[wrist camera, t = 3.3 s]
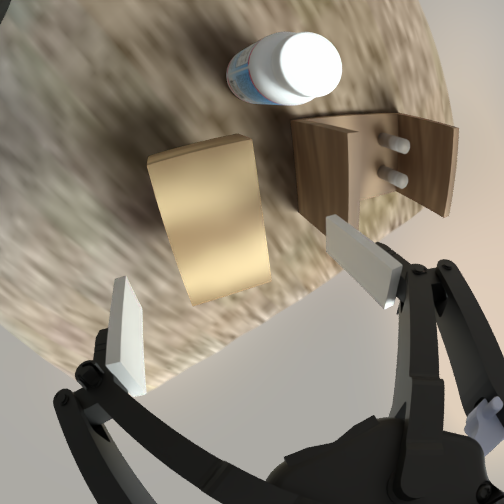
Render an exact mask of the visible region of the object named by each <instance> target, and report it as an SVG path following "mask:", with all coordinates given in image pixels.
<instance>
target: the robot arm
mask: <svg viewBox="0 0 504 504" xmlns="http://www.w3.org/2000/svg"><path fill="white" fill-rule="evenodd" d="M10 1H11V0H0V23H1V21H2V20H3V18H4V15H5V13H6V11H7V9H8V6H9V4H10ZM326 252H327V253H328V254H329V255H330V256H331V257H332V258H333V259H334V260H335V261H336V262H337V263H338V264H339V265H340V266H341V267H342V268H343V269H344V270H345V271H347V272H348V273H349V274H350V275H351V276H352V277H353V278H354V279H355V280H356V281H357V282H358V283H359V284H360V285H361V286H362V287H363V288H364V289H365V290H366V291H367V292H368V293H369V295H371V296H372V297H373V299H375V301H376V302H377V303H378V304H379V305H380V306H381V307H382V308H383V309H386V308H388V307H390V306H392V305H394V303H395V298H396V297H398V298H399V299H400V303H399V307H398V310H397V314H399V335H398V355H397V368H396V379H395V388H394V397H393V405H392V408H391V411H390V414H389V417H386V418H379V419H376V417H375V416H374V415H373V416H371V417H369V418H367V419H366V420H364V421H362V422H360V423H358V424H356V425H355V426H353V427H352V428H351V429H350V430H348V431H347V432H346V433H345V434H344V435H343V436H341V437H340V438H339V439H338V440H336V441H335V442H333V443H329V444H324V445H319V446H314V447H309V448H305V449H303V450H301V451H298V452H295V453H293V454H290V455H288V456H285V457H284V460H285V461H284V462H283V463H281V464H280V465H279V466H277V467H276V468H275V469H274V470H273V471H272V472H271V473H270V475H269V476H268V478H267V479H266V481H264V480H262V479H259V478H257V477H255V476H253V475H251V474H249V473H247V472H245V471H243V470H241V469H240V468H237V467H236V466H234V465H232V464H230V463H228V462H226V461H222V460H221V459H219V458H217V457H215V456H214V455H212V454H210V453H208V452H207V451H205V450H204V449H202V448H201V447H199V446H197V445H196V444H194V443H193V442H191V441H190V440H188V439H187V438H185V437H184V436H182V435H181V434H179V433H178V432H176V431H175V430H174V429H172V428H171V427H169V426H168V425H167V424H165V423H164V422H163V421H161V420H160V419H159V418H157V417H156V416H155V415H153V414H152V413H151V412H149V411H148V410H147V409H146V408H144V407H143V406H142V405H141V404H140V403H138V402H137V401H136V400H135V399H133V398H132V397H131V396H130V395H129V394H128V392H129V393H130V394H131V395H132V396H133V397H136V396H140V395H145V394H147V393H146V381H145V368H144V351H143V321H142V307H141V305H140V303H139V301H138V299H137V297H136V295H135V293H134V291H133V289H132V287H131V285H130V283H129V281H128V279H127V276H123V277H120V278H116V279H115V282H114V288H113V295H112V302H111V310H110V318H109V327H108V328H106V329H102V330H100V331H99V333H98V335H97V337H96V341H95V349H94V352H95V353H94V358H93V360H88V361H85V362H83V363H81V364H80V365H79V366H78V368H77V369H76V372H75V378H76V380H77V382H78V383H79V384H80V385H81V386H82V387H83V388H81V389H79V390H77V391H76V392H72V391H71V390H69V389H62V390H60V391H59V392H57V393H56V395H55V397H54V400H53V404H54V408H55V411H56V414H57V417H58V420H59V423H60V425H61V428H62V431H63V433H64V436H65V438H66V441H67V443H68V446H69V448H70V450H71V453H72V455H73V457H74V459H75V461H76V463H77V465H78V468H79V470H80V472H81V474H82V476H83V477H84V480H85V481H86V483H87V485H88V487H89V489H90V491H91V492H92V494H93V496H94V498H95V499H96V501H97V503H98V504H157V503H156V502H155V501H154V499H153V498H152V497H151V495H150V494H149V493H148V492H147V490H146V489H145V488H144V486H143V485H142V483H141V482H140V481H139V479H138V478H137V477H136V475H135V474H134V472H133V471H132V469H131V468H130V466H129V465H128V463H127V462H126V460H125V459H124V457H123V456H122V454H121V452H120V451H119V449H118V448H117V446H116V444H115V443H114V441H113V439H112V437H111V436H110V434H109V432H108V430H107V429H106V427H105V425H104V423H105V422H106V421H108V420H110V419H112V418H113V419H114V420H115V421H116V422H117V423H118V424H119V425H120V426H121V427H122V428H123V429H124V430H125V431H126V432H127V433H128V434H130V435H131V436H132V437H133V438H134V439H135V440H136V441H137V442H139V443H140V444H141V445H142V446H143V447H144V448H145V449H147V450H148V451H149V452H150V453H151V454H153V455H154V456H155V457H156V458H158V459H159V460H160V461H162V462H163V463H164V464H165V465H167V466H168V467H169V468H171V469H172V470H173V471H175V472H176V473H178V474H179V475H180V476H182V477H183V478H184V479H186V480H187V481H189V482H190V483H192V484H193V485H195V486H196V487H198V488H199V489H200V490H201V491H203V492H204V493H206V494H207V495H209V496H210V497H212V498H214V499H215V500H217V501H219V502H220V503H222V504H504V492H502V491H501V490H499V489H498V488H497V487H495V486H494V485H493V484H492V483H491V482H490V481H489V479H488V476H487V472H486V467H485V456H486V455H487V454H488V453H489V452H491V451H492V450H493V449H494V448H495V447H496V446H497V445H498V444H499V443H500V442H501V441H502V440H504V357H503V355H502V352H501V350H500V347H499V345H498V343H497V341H496V338H495V336H494V334H493V332H492V330H491V327H490V325H489V323H488V321H487V319H486V317H485V315H484V313H483V311H482V310H481V307H480V306H479V304H478V302H477V300H476V298H475V296H474V295H473V293H472V291H471V289H470V287H469V286H468V284H467V282H466V281H465V279H464V277H463V276H462V274H461V272H460V271H459V269H458V267H457V266H456V265H455V264H454V263H453V262H452V261H450V260H445V259H443V260H440V261H438V264H437V267H436V268H431V269H427V268H426V267H425V266H423V265H420V264H410V263H409V262H407V261H406V260H405V259H403V258H402V257H401V256H400V255H398V254H396V252H394V251H393V250H391V248H389V247H388V246H387V245H385V244H382V243H380V242H376V243H374V242H373V241H371V240H370V239H369V238H367V237H366V236H365V235H363V234H362V233H361V232H359V231H358V230H357V229H355V228H354V227H353V226H351V225H350V224H348V223H347V222H346V221H344V220H343V219H342V218H340V217H339V216H337V215H336V214H334V215H331V216H327V217H326ZM436 323H437V325H438V328H439V331H440V333H441V336H442V339H443V342H444V345H445V348H446V351H447V354H448V357H449V360H450V363H451V366H452V369H453V373H454V376H455V380H456V384H457V387H458V391H459V395H460V399H461V402H462V406H463V409H464V411H465V414H466V416H467V420H466V426H465V428H464V431H465V433H466V434H467V435H468V436H464V435H459V434H455V433H451V432H447V431H443V421H444V420H443V419H444V381H443V379H440V378H439V356H438V340H437V327H436Z"/></svg>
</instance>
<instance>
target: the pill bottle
mask: <svg viewBox="0 0 504 504" xmlns="http://www.w3.org/2000/svg"><path fill="white" fill-rule="evenodd" d="M341 74H342V64H341V59H340V56H339V54H338V52H337V50H336V48H335V47H334V46H333V45H332V43H330V42H329V41H328V40H327V39H326V38H324V37H322V36H321V35H318V34H316V33H311V32H300V33H294V32H278V33H274V34H271V35H269V36H267V37H265V38H263V39H261V40H259V41H257V42H256V43H254V44H252V45H250V46H249V47H247V48H245V49H244V50H242V51H240V52H239V53H237V54H236V55H235V56H234V57H233V58H232V59H231V61H230V62H229V65H228V67H227V72H226V78H227V83H228V86H229V88H230V89H231V91H232V92H233V93H234V94H235V95H236V96H237V97H238V98H239V99H241V100H243V101H245V102H248V103H252V104H272V105H300V104H304V103H306V102H309V101H311V100H312V99H314V98H315V97H320V96H324V95H326V94H328V93H330V92H331V91H332V90H334V89H335V87H336V86H337V85H338V83H339V81H340V78H341Z"/></svg>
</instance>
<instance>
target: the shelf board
mask: <svg viewBox="0 0 504 504" xmlns="http://www.w3.org/2000/svg"><path fill="white" fill-rule="evenodd" d="M147 169H148V172H149V176H150V179H151V183H152V186H153V190H154V193H155V197H156V200H157V204H158V207H159V210H160V213H161V217H162V220H163V223H164V226H165V229H166V232H167V235H168V238H169V242H170V245H171V248H172V250H173V253H174V256H175V259H176V262H177V265H178V268H179V271H180V274H181V276H182V279H183V282H184V285H185V287H186V290H187V293H188V295H189V298H190V301H191V303H192V306H195V305H199V304H202V303H205V302H209V301H212V300H215V299H218V298H221V297H225V296H228V295H231V294H234V293H237V292H240V291H243V290H247V289H250V288H253V287H256V286H259V285H262V284H265V283H268V282H271V281H272V280H271V272H270V265H269V257H268V249H267V242H266V234H265V227H264V219H263V212H262V205H261V198H260V191H259V184H258V177H257V170H256V163H255V156H254V149H253V142H252V139H250V138H248V137H245V136H243V135H240V134H233V135H228V136H223V137H219V138H214V139H210V140H205V141H201V142H197V143H193V144H189V145H185V146H182V147H178V148H174V149H170V150H167V151H163V152H160V153H157V154H153V155H150V156H148V161H147Z"/></svg>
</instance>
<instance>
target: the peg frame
mask: <svg viewBox="0 0 504 504" xmlns="http://www.w3.org/2000/svg"><path fill="white" fill-rule="evenodd" d="M290 122H291V131H292V141H293V151H294V161H295V172H296V184H297V196H298V209H299V213H300V214H301V215H302V216H303V217H304V218H306V219H307V220H308V221H309V222H310V223H311V224H313V225H314V226H315V227H316V228H317V229H318V230H319V231H321V232H322V233H323V234H324V235H325V236H326V217H327V216H331V215H334V214H336V215H337V216H339V217H340V218H342V219H343V220H344V221H346V222H347V223H348V224H350V225H351V226H353V227H354V228H355V229H357V230H359V211H360V200H364V199H368V198H372V197H375V196H379V195H383V194H387V193H391V192H395V191H397V192H399V193H401V194H402V195H404V196H406V197H408V198H410V199H412V200H414V201H415V202H417V203H419V204H421V205H422V206H424V207H426V208H428V209H430V210H431V211H433V212H435V213H437V214H438V215H440V216H441V217H443V218H445V217H447V216H449V213H450V207H451V201H452V195H453V188H454V181H455V173H456V164H457V152H458V138H459V128H457V127H454V126H450V125H447V124H443V123H440V122H436V121H432V120H428V119H424V118H420V117H416V116H411V115H407V114H402V113H367V114H347V115H334V116H322V117H312V118H303V119H295V120H290Z"/></svg>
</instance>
